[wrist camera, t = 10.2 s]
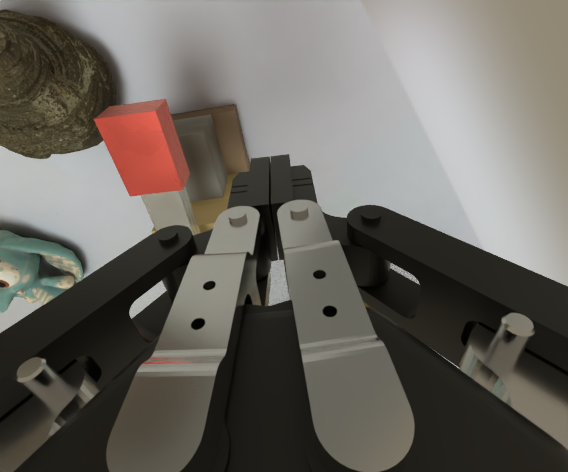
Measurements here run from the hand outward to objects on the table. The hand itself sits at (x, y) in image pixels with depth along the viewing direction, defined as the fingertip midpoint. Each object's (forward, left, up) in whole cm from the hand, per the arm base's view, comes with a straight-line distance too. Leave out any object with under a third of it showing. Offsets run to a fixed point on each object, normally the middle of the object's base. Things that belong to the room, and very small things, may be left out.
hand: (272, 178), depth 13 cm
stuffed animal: (-14, +27, -15) cm, 34 cm away
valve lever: (-4, +6, -6) cm, 10 cm away
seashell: (+2, +17, -15) cm, 23 cm away
